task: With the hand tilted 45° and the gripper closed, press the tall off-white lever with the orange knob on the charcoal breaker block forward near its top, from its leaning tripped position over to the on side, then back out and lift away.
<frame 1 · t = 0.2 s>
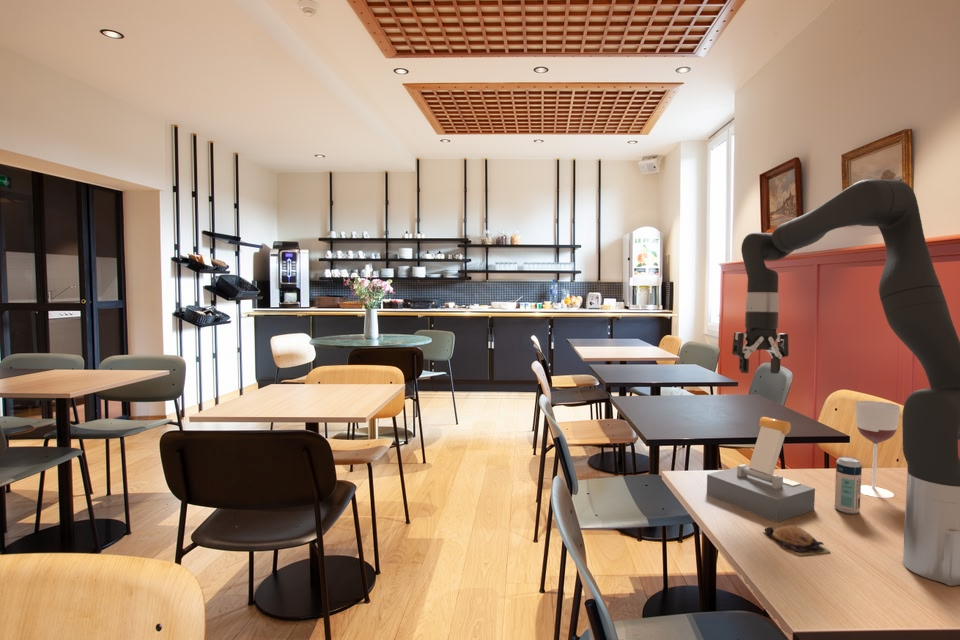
hand: (759, 373, 138), 29 cm above the table, tool pointing down, fingers open, 8 cm apart
beer can: (846, 511, 122), on the table
wineglass: (873, 492, 134), on the table
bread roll: (794, 545, 107), on the table
breaker lever: (767, 448, 128), point 12 cm above the table, hinge at -25.0°
breaker block: (758, 501, 127), on the table
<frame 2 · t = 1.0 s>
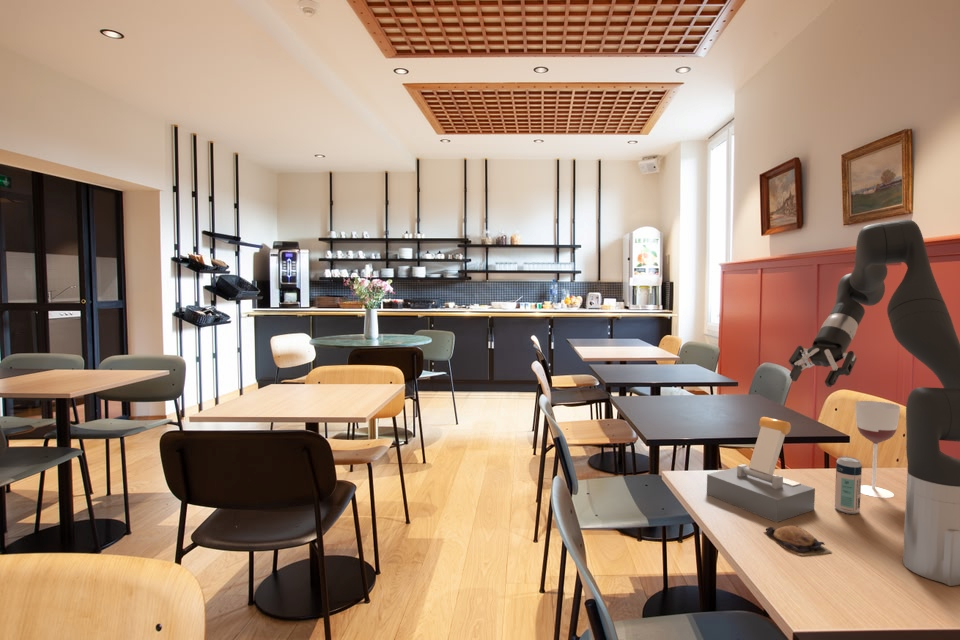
hand: (809, 382, 135), 27 cm above the table, tool tilted 45°, fingers open, 8 cm apart
nothing on the table moved.
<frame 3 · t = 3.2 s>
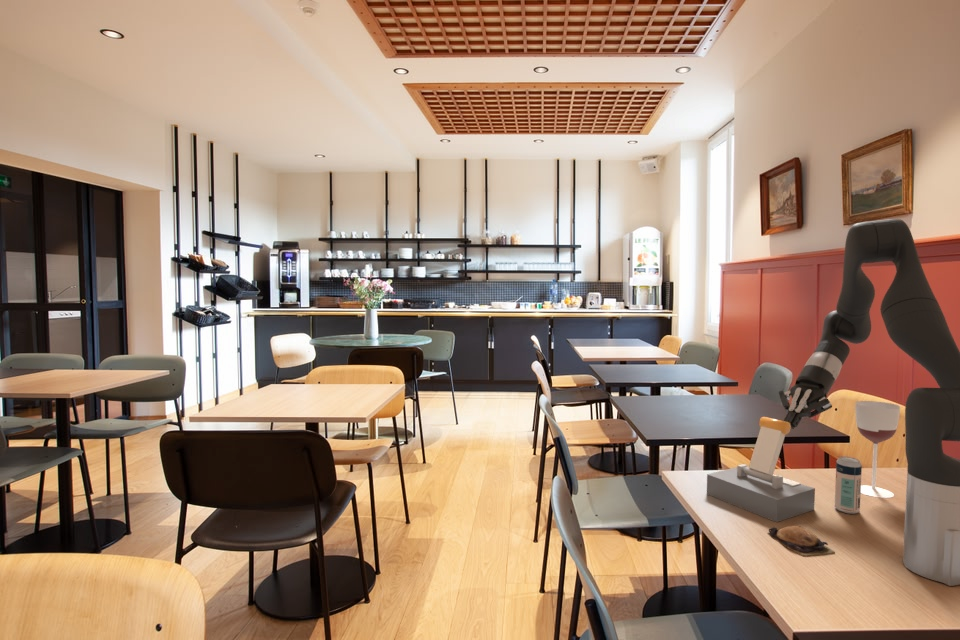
hand: (788, 426, 131), 17 cm above the table, tool tilted 45°, fingers closed
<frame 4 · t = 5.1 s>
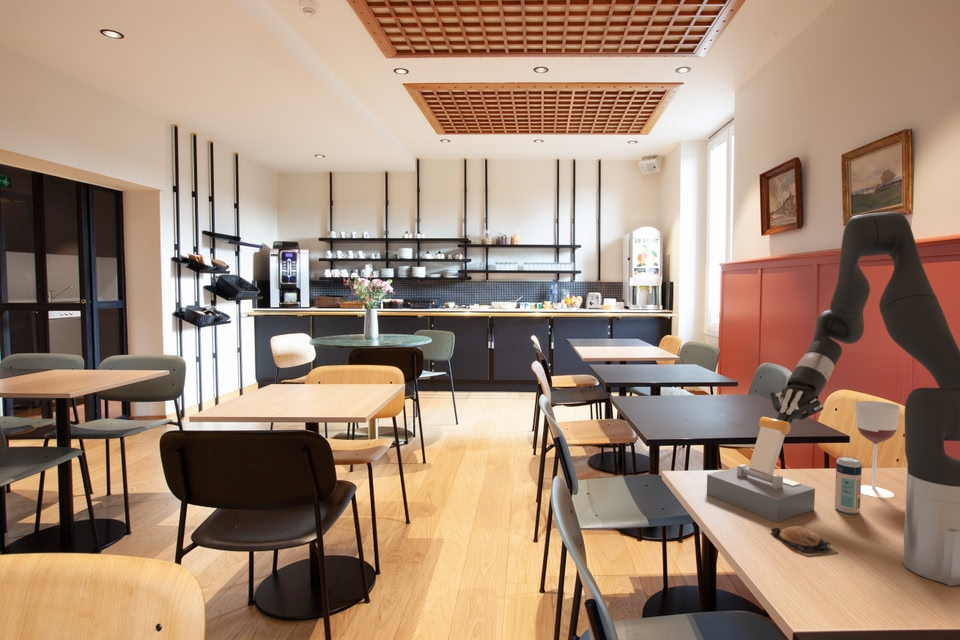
hand: (779, 428, 130), 17 cm above the table, tool tilted 45°, fingers closed
breaker lever: (767, 448, 128), point 12 cm above the table, hinge at -24.7°, touching gripper
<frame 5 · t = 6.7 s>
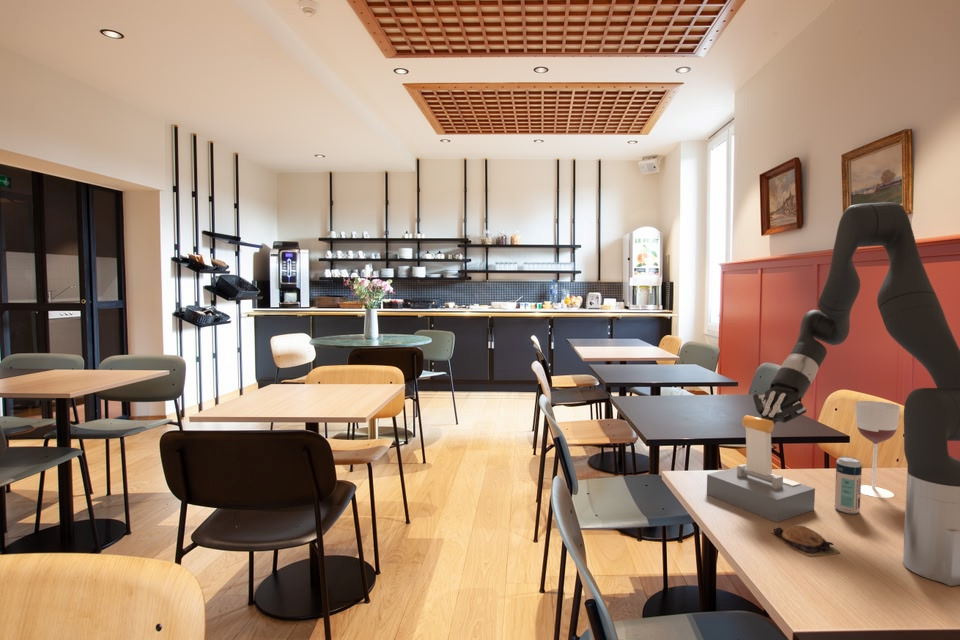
hand: (761, 431, 126), 17 cm above the table, tool tilted 45°, fingers closed
breaker lever: (758, 448, 126), point 13 cm above the table, hinge at 5.4°, touching gripper
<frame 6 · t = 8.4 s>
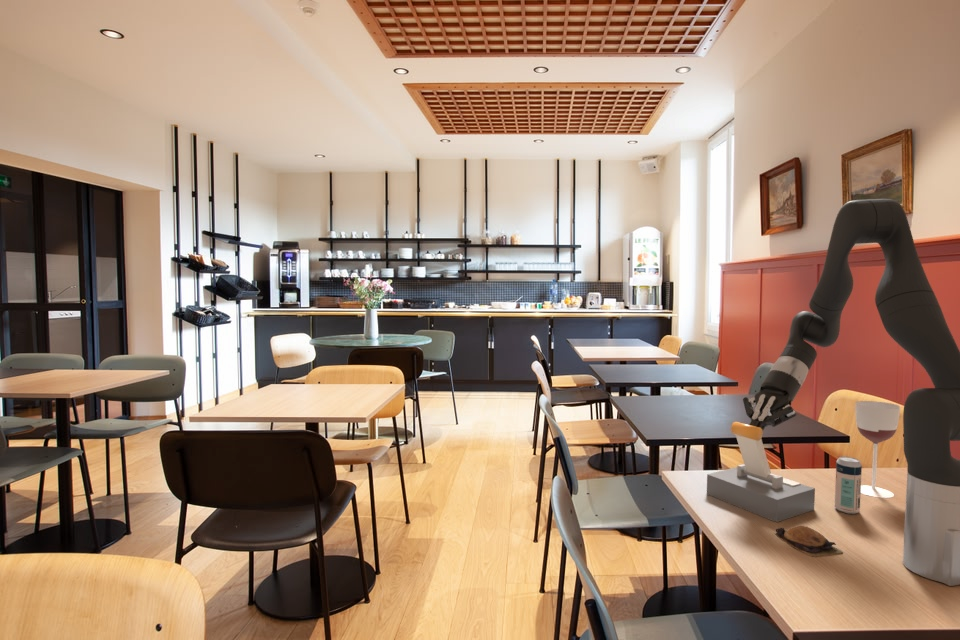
hand: (751, 435, 125), 16 cm above the table, tool tilted 45°, fingers closed
breaker lever: (752, 452, 125), point 12 cm above the table, hinge at 24.9°, touching gripper
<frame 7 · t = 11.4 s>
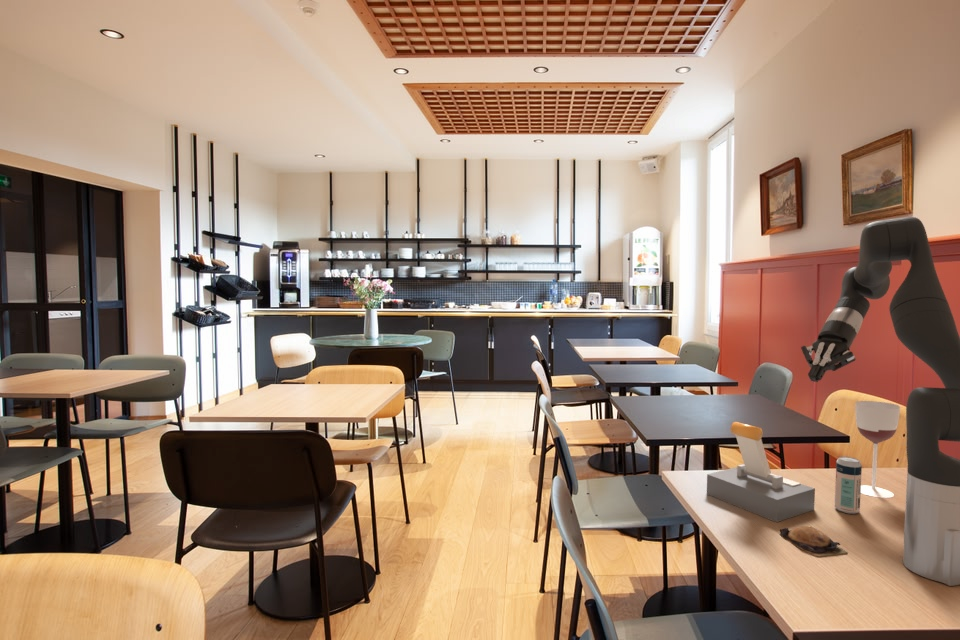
hand: (813, 379, 134), 28 cm above the table, tool tilted 45°, fingers closed
breaker lever: (752, 452, 125), point 12 cm above the table, hinge at 25.2°
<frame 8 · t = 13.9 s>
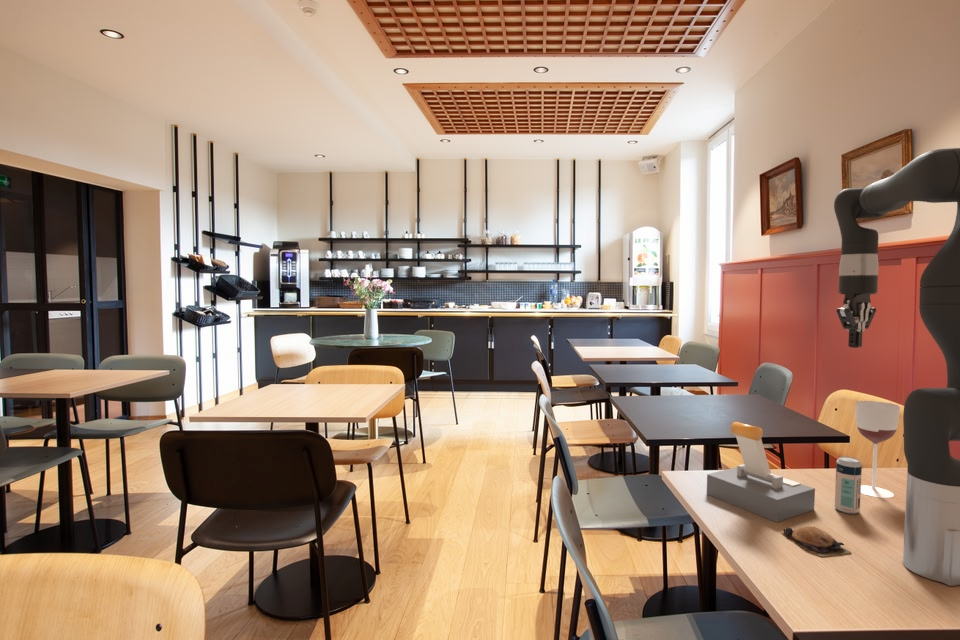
hand: (855, 347, 126), 37 cm above the table, tool pointing down, fingers closed
at the end: breaker lever at +25° (first picture: -25°); wineglass moved 0.2 cm from its start; beer can moved 0.2 cm from its start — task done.
